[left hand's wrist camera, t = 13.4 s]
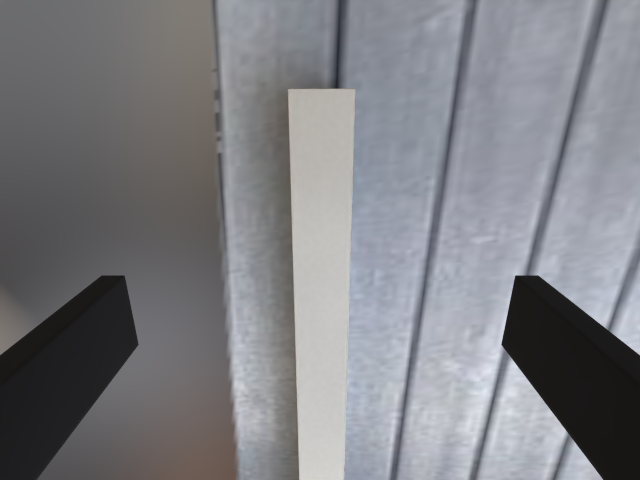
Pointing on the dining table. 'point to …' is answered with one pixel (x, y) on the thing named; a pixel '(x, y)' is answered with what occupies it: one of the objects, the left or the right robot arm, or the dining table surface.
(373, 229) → the dining table surface
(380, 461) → the dining table surface
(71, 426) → the left robot arm
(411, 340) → the dining table surface
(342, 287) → the beam
